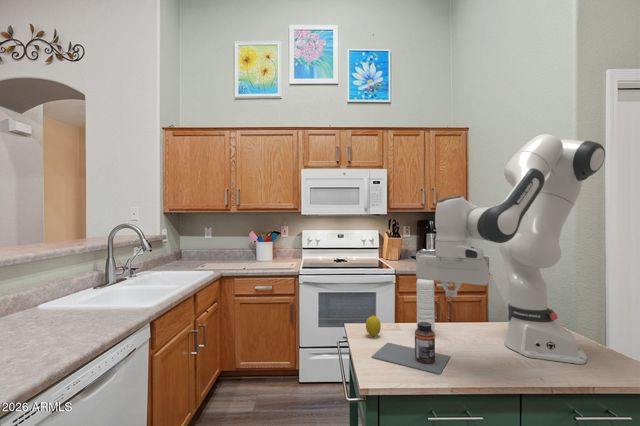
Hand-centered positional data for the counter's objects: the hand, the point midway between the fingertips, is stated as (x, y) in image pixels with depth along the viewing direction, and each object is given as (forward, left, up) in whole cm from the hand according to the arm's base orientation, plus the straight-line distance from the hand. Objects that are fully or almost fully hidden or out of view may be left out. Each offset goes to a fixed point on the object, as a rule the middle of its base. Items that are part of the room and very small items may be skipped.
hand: (451, 297), depth 96 cm
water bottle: (+13, -24, -21) cm, 35 cm away
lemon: (+30, -11, -21) cm, 38 cm away
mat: (+12, -1, -21) cm, 24 cm away
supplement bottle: (+8, 0, -21) cm, 22 cm away
